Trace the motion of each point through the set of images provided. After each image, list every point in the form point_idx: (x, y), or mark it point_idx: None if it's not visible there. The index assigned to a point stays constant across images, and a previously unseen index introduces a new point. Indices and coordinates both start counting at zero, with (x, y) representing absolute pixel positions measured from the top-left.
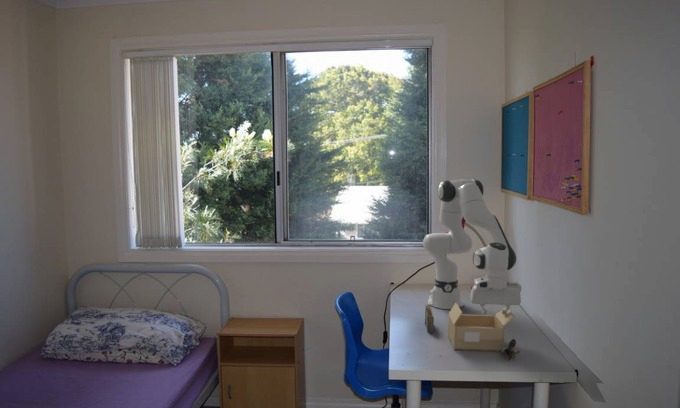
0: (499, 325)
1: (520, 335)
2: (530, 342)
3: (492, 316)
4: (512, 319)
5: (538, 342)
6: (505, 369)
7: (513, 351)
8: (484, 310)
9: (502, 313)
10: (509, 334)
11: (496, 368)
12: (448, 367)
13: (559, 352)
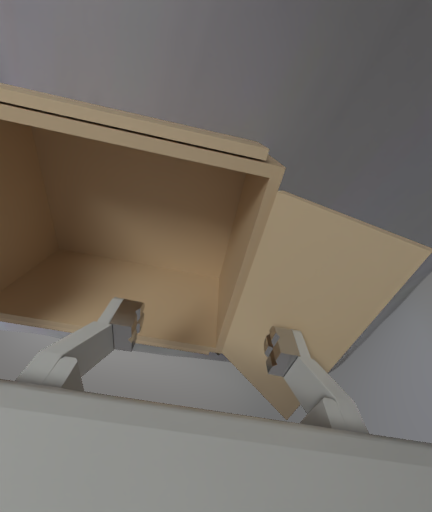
0: (227, 303)
1: (419, 135)
2: (383, 224)
3: (259, 175)
4: (270, 395)
5: (415, 228)
6: (179, 353)
7: (217, 353)
8: (107, 348)
9: (270, 333)
10: (373, 110)
11: (160, 347)
12: (46, 331)
13: (397, 305)
